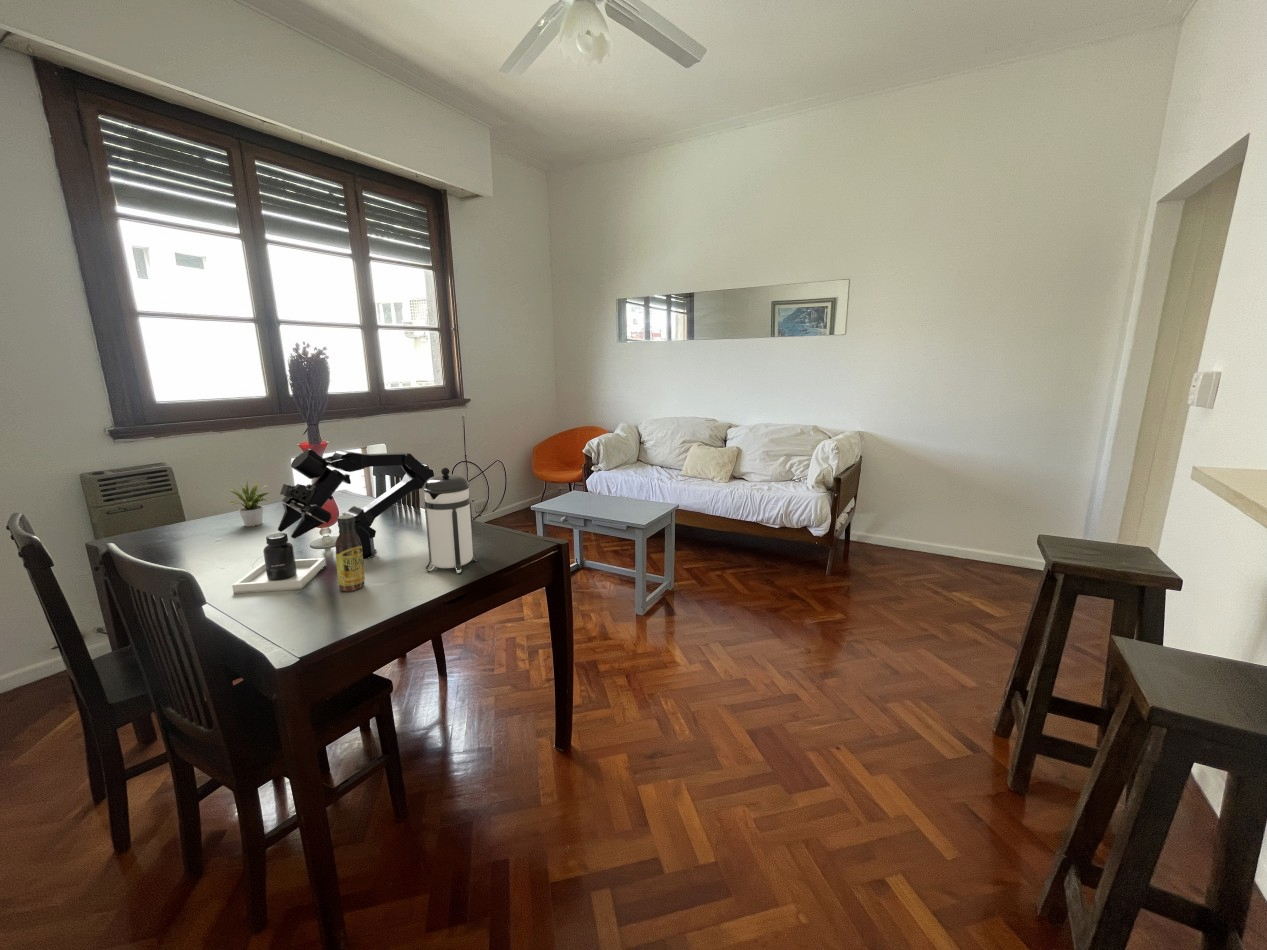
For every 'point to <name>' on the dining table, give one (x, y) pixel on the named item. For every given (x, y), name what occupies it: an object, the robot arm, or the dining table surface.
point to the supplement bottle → (279, 557)
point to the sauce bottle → (349, 555)
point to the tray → (261, 583)
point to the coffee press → (448, 520)
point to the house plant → (251, 505)
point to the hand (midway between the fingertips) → (285, 534)
